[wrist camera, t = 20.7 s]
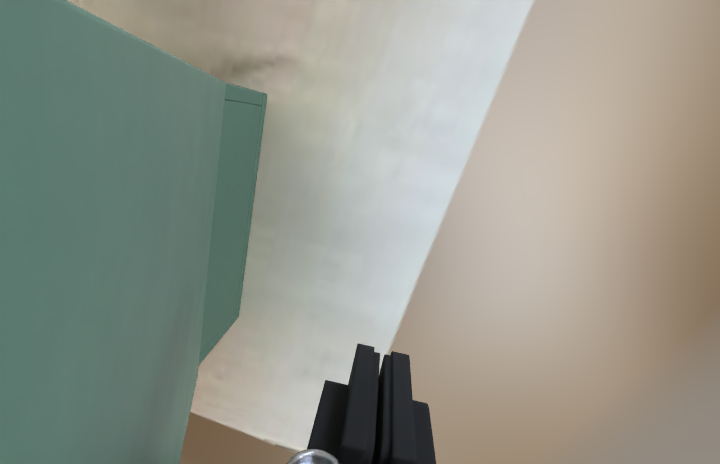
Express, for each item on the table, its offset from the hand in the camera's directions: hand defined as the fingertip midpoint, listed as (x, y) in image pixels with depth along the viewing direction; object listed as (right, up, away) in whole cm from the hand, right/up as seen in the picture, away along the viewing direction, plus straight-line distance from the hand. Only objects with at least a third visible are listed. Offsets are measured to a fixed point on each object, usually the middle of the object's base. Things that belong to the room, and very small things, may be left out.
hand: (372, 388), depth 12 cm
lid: (-7, +1, -2) cm, 7 cm away
